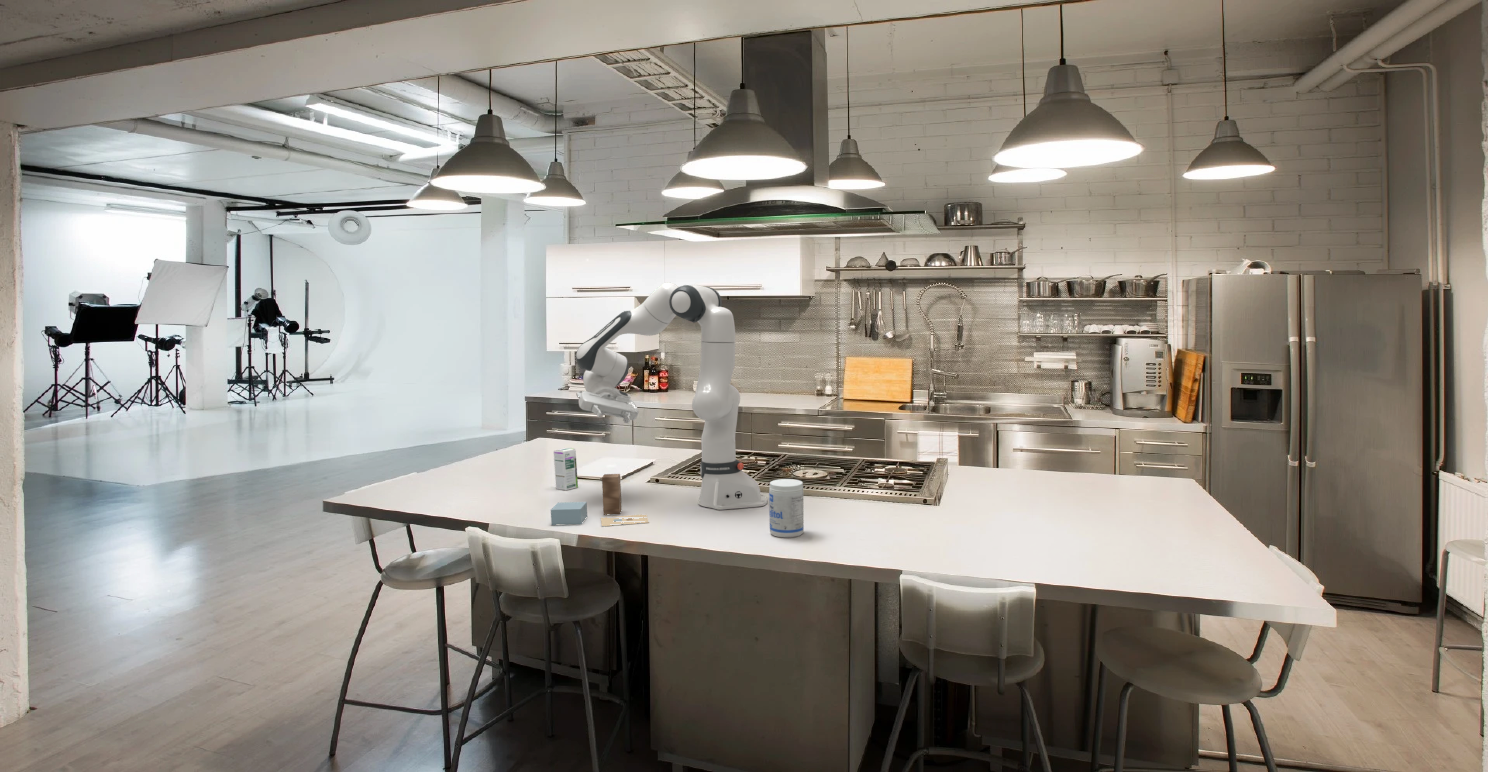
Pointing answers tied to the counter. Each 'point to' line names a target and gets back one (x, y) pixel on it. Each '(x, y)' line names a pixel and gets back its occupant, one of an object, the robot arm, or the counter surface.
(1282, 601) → the counter surface
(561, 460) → the syrup box
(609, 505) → the block
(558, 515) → the brick
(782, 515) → the supplement tub
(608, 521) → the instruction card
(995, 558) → the counter surface
